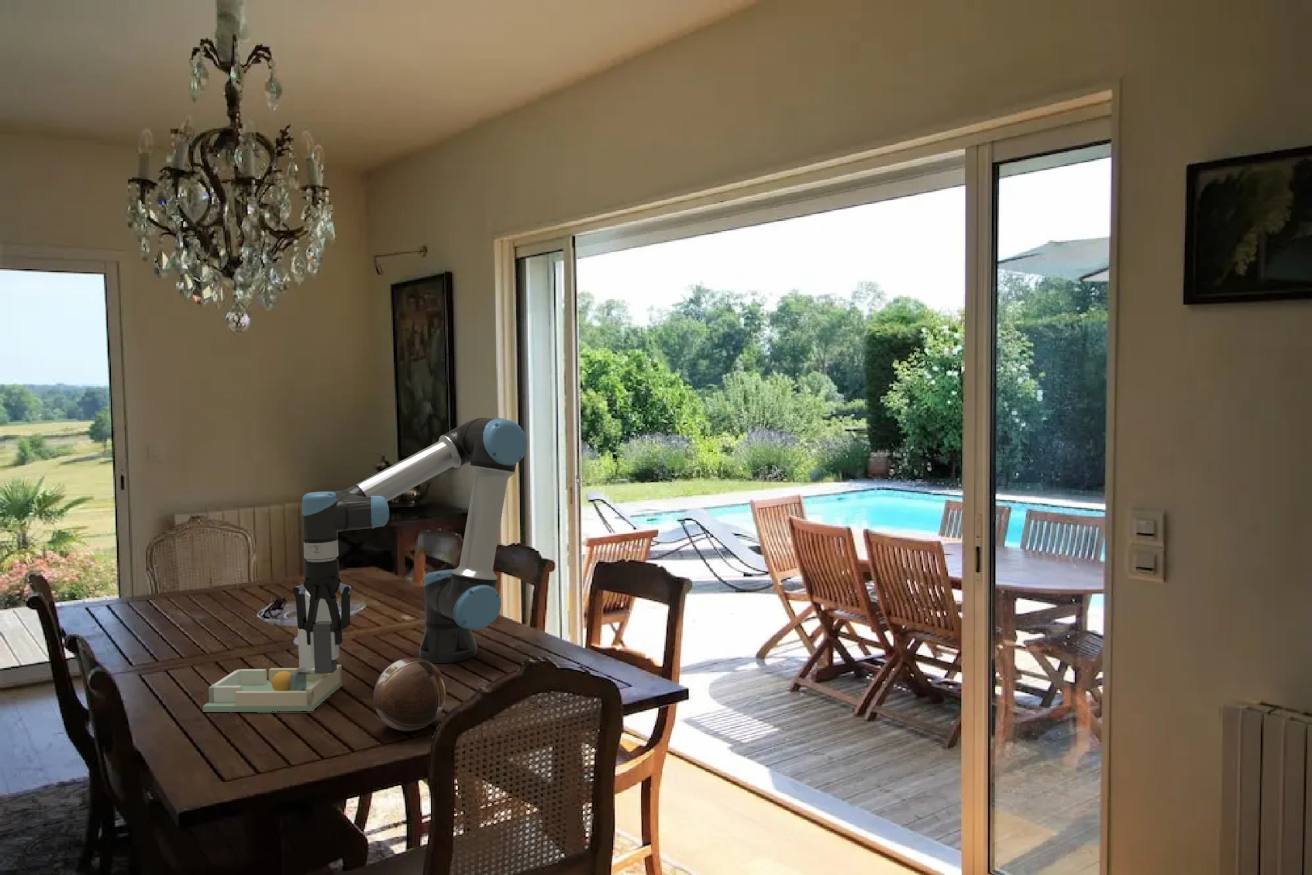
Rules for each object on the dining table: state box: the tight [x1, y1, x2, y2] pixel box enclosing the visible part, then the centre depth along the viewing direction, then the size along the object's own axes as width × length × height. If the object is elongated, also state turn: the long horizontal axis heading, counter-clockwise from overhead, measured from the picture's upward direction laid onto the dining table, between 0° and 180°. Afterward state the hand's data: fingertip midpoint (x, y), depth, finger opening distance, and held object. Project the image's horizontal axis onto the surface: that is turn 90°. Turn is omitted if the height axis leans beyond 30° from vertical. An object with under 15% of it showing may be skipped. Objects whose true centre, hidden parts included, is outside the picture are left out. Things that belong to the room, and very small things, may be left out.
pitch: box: [202, 664, 343, 714], centre depth 218 cm, size 25×18×5 cm
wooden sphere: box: [372, 657, 448, 732], centre depth 197 cm, size 15×15×15 cm
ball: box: [272, 671, 291, 691], centre depth 217 cm, size 5×5×5 cm
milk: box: [297, 589, 331, 668], centre depth 241 cm, size 6×6×22 cm
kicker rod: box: [290, 621, 338, 691], centre depth 217 cm, size 9×6×16 cm, turn 88°
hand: (325, 658), depth 217 cm, fingers closed on kicker rod, 4 cm apart
